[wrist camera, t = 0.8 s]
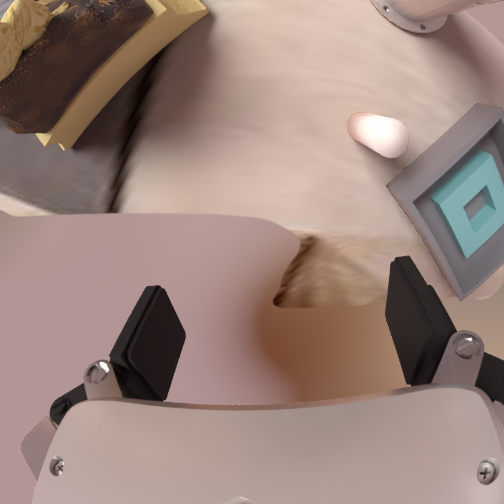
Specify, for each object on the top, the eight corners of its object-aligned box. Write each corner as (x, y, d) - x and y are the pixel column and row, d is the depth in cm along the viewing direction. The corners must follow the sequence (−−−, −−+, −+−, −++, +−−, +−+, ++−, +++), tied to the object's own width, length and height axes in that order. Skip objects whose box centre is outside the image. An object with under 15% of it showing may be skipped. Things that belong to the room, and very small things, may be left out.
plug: (362, 105, 31) (392, 110, 22) (381, 129, 32) (415, 142, 23) (340, 124, 32) (364, 135, 24) (360, 147, 34) (388, 166, 25)
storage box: (476, 103, 27) (501, 108, 22) (519, 211, 34) (538, 226, 29) (385, 185, 36) (402, 201, 31) (446, 280, 43) (460, 301, 38)
